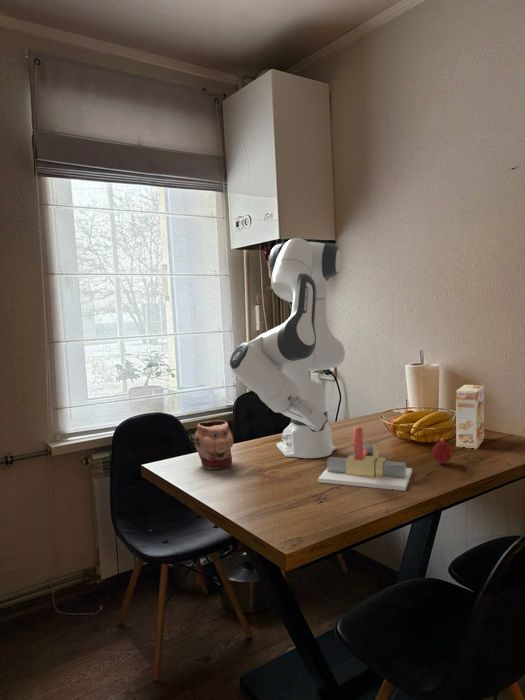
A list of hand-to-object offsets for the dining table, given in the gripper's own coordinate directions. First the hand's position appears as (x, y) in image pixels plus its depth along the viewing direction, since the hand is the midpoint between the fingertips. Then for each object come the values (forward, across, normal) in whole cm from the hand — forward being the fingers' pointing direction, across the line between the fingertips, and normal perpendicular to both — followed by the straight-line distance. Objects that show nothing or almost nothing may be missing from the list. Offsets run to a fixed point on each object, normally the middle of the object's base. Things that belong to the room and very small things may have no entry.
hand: (317, 428), depth 135 cm
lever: (+19, +4, -4) cm, 20 cm away
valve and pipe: (+26, +7, -1) cm, 27 cm away
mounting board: (+26, +7, -1) cm, 27 cm away
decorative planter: (+2, +41, +24) cm, 48 cm away
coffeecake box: (+63, +20, -37) cm, 76 cm away
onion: (+46, +6, -20) cm, 50 cm away
